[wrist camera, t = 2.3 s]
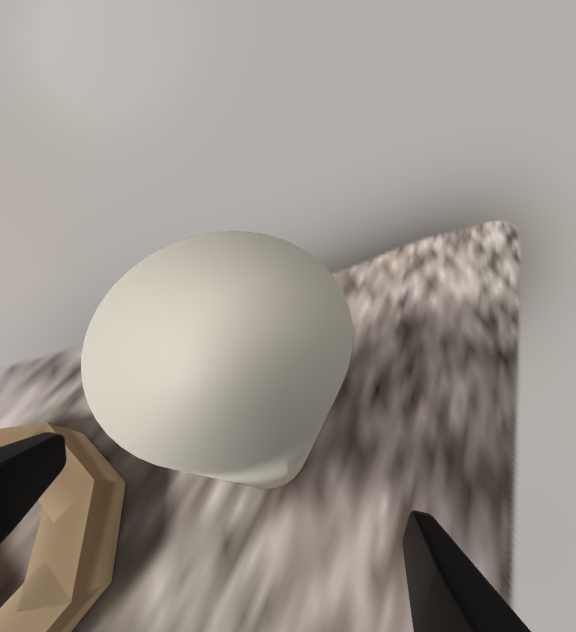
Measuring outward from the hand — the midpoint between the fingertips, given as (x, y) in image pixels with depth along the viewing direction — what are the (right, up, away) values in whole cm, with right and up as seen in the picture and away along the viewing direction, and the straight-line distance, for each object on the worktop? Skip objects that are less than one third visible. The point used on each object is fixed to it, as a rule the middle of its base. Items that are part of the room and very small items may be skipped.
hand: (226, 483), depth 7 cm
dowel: (+1, -3, +10) cm, 10 cm away
